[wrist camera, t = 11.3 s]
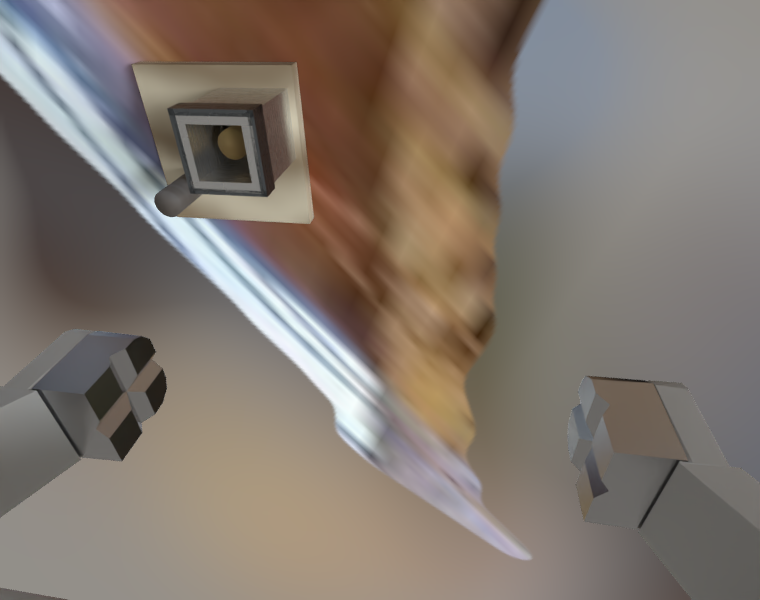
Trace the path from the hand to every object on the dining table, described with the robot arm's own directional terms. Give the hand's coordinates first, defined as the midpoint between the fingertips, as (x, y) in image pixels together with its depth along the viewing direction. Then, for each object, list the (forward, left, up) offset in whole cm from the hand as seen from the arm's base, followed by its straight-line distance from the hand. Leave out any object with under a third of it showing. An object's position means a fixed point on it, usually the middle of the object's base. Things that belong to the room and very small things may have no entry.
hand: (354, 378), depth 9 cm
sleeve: (+3, -13, -28) cm, 31 cm away
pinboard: (+5, -16, -29) cm, 34 cm away
